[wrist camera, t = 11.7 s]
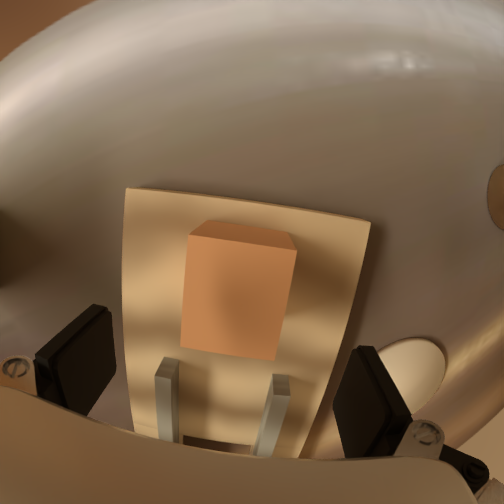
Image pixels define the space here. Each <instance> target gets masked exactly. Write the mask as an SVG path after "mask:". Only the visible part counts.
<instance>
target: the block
mask: <svg viewBox="0 0 504 504" xmlns="http://www.w3.org/2000/svg"><path fill="white" fill-rule="evenodd" d="M296 254H297V249H296V248H295V246H294V244H293V242H292V240H291V238H290V236H289V234H288V233H287V232H284V231H278V230H271V229H265V228H258V227H251V226H245V225H238V224H231V223H224V222H217V221H210V220H206V221H205V222H204V223H203V224H201V225H200V226H199V227H197V228H196V229H195V230H194V231H192V232H191V233H190V234H188V243H187V253H186V265H185V276H184V289H183V304H182V320H181V340H180V347H185V348H190V349H196V350H201V351H207V352H213V353H219V354H226V355H232V356H239V357H246V358H254V359H262V360H270V361H274V360H275V356H276V352H277V347H278V343H279V338H280V334H281V329H282V324H283V320H284V315H285V310H286V305H287V300H288V295H289V290H290V285H291V280H292V275H293V270H294V265H295V260H296Z"/></svg>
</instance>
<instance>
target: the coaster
mask: <svg viewBox="0 0 504 504" xmlns="http://www.w3.org/2000/svg"><path fill="white" fill-rule="evenodd" d="M377 353H378V355H379V357H380V359H381V360H382V362H383V364H384V365H385V367H386V369H387V371H388V372H389V374H390V376H391V378H392V380H393V381H394V383H395V385H396V387H397V388H398V390H399V392H400V394H401V396H402V398H403V399H404V401H405V403H406V405H407V407H408V409H409V410H410V412H411V414H413V413H415V412H416V411H418V410H419V409H420V408H421V407H423V406H424V405H425V404H426V403H427V402H428V401H429V400H430V399H431V398H432V396H433V395H434V394H435V392H436V391H437V389H438V388H439V386H440V384H441V382H442V379H443V376H444V372H445V359H444V355H443V354H442V352H441V350H440V349H439V348H438V347H437V346H436V345H435V344H434V343H433V342H431V341H429V340H427V339H424V338H407V339H402V340H399V341H396V342H394V343H391V344H389V345H387V346H385V347H384V348H382V349H381V350H379V351H378V352H377Z"/></svg>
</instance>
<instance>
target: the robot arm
mask: <svg viewBox="0 0 504 504" xmlns="http://www.w3.org/2000/svg"><path fill="white" fill-rule="evenodd" d="M35 357H36V359H35V360H33V361H32V360H31V359H29V358H28V357H26V356H22V355H15V356H10V357H8V358H6V359H4V360H3V361H2V362H1V363H0V504H504V485H503V484H502V483H501V482H499V481H498V480H497V479H495V478H493V479H492V480H490V479H489V470H488V468H487V466H486V465H485V464H484V463H483V462H482V461H481V460H479V459H476V458H474V457H472V456H469V455H467V454H465V453H463V452H460V451H458V450H456V449H453V448H451V447H449V446H447V445H445V444H443V443H444V439H445V436H444V432H443V431H442V429H441V428H440V427H439V426H438V425H437V424H435V423H433V422H432V421H428V420H421V419H420V420H415V421H413V419H412V417H411V415H412V414H411V412H410V410H409V409H408V407H407V405H406V403H405V401H404V399H403V398H402V396H401V394H400V392H399V390H398V388H397V387H396V385H395V383H394V381H393V380H392V378H391V376H390V374H389V372H388V371H387V369H386V367H385V365H384V364H383V362H382V360H381V359H380V357H379V355H378V353H377V352H376V350H375V348H374V347H373V346H362V345H359V346H358V347H357V349H353V350H352V352H351V355H350V358H349V361H348V364H347V366H346V369H345V372H344V375H343V377H342V380H341V383H340V385H339V388H338V390H337V393H336V395H335V398H334V401H333V411H334V415H335V419H336V422H337V426H338V430H339V434H340V438H341V442H342V446H343V450H344V454H345V458H341V459H301V458H279V457H265V456H254V455H245V454H236V453H229V452H222V451H215V450H209V449H203V448H198V447H193V446H188V445H183V444H178V443H174V442H169V441H165V440H161V439H157V438H153V437H149V436H146V435H142V434H138V433H135V432H131V431H128V430H125V429H122V428H118V427H115V426H112V425H109V424H106V423H103V422H101V421H98V420H95V419H92V418H90V417H87V415H88V413H89V412H90V410H91V409H92V407H93V406H94V404H95V403H96V401H97V400H98V398H99V397H100V395H101V394H102V392H103V391H104V389H105V388H106V386H107V385H108V383H109V382H110V380H111V379H112V378H113V376H114V375H115V372H116V358H115V349H114V339H113V327H112V315H111V312H110V311H108V308H107V307H105V306H101V305H97V304H92V305H91V306H90V307H89V308H87V309H86V310H85V311H84V312H83V313H81V314H80V315H79V316H78V317H77V318H75V319H74V320H73V321H72V322H71V323H70V324H68V325H67V326H66V327H65V328H64V329H63V330H62V331H60V332H59V333H58V334H57V335H56V336H55V337H54V338H52V339H51V340H50V341H49V342H48V343H47V344H46V345H45V346H43V347H42V348H41V349H40V350H39V351H38V352H37V353H36V354H35Z"/></svg>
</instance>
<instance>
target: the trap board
mask: <svg viewBox="0 0 504 504" xmlns="http://www.w3.org/2000/svg"><path fill="white" fill-rule="evenodd" d="M206 220H210V221H217V222H224V223H231V224H238V225H245V226H251V227H258V228H265V229H271V230H278V231H284V232H287V233H288V234H289V236H290V238H291V240H292V242H293V244H294V246H295V248H296V249H297V254H296V260H295V265H294V270H293V275H292V280H291V285H290V290H289V295H288V300H287V305H286V310H285V315H284V320H283V324H282V329H281V334H280V338H279V343H278V347H277V352H276V356H275V360H274V361H270V360H262V359H254V358H246V357H239V356H232V355H226V354H219V353H213V352H207V351H201V350H196V349H190V348H185V347H180V340H181V320H182V304H183V289H184V276H185V265H186V253H187V243H188V234H190V233H191V232H192V231H194V230H195V229H196V228H197V227H199V226H200V225H201V224H203V223H204V222H205V221H206ZM370 225H371V222H368V221H366V220H363V219H360V218H355V217H350V216H344V215H339V214H333V213H328V212H322V211H316V210H310V209H304V208H298V207H292V206H285V205H279V204H272V203H266V202H259V201H252V200H245V199H238V198H230V197H222V196H215V195H207V194H198V193H190V192H181V191H172V190H162V189H152V188H141V187H134V188H126V195H125V207H124V223H123V244H122V313H123V334H124V349H125V361H126V371H127V381H128V389H129V397H130V404H131V411H132V418H133V424H134V430H135V433H138V434H142V435H146V436H149V437H153V438H157V439H161V440H165V441H169V442H174V443H178V444H183V435H186V436H191V437H197V438H202V439H208V440H215V441H221V442H229V443H237V444H245V445H251V449H250V453H249V455H254V456H265V457H279V458H298V457H299V454H300V452H301V450H302V448H303V445H304V443H305V441H306V438H307V436H308V433H309V431H310V429H311V426H312V424H313V421H314V419H315V416H316V414H317V411H318V408H319V406H320V403H321V400H322V398H323V395H324V392H325V389H326V387H327V384H328V381H329V378H330V375H331V372H332V369H333V366H334V363H335V360H336V357H337V354H338V351H339V348H340V345H341V342H342V338H343V335H344V332H345V328H346V325H347V321H348V318H349V314H350V311H351V307H352V303H353V300H354V296H355V292H356V288H357V284H358V280H359V276H360V272H361V267H362V263H363V259H364V254H365V250H366V245H367V240H368V235H369V230H370Z"/></svg>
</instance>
